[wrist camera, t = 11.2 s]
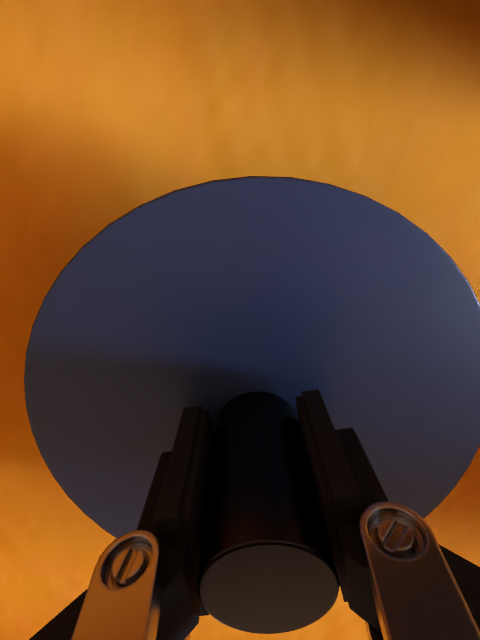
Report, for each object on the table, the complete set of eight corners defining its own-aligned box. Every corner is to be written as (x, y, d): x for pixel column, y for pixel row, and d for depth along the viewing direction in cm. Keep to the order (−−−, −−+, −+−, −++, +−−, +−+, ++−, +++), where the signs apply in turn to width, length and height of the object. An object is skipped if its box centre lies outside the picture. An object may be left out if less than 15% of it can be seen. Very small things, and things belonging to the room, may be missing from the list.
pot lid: (491, 131, 9) (940, 9, 3) (457, 529, 14) (604, 754, 9) (-33, 228, 10) (-411, 267, 4) (117, 566, 15) (40, 790, 10)
